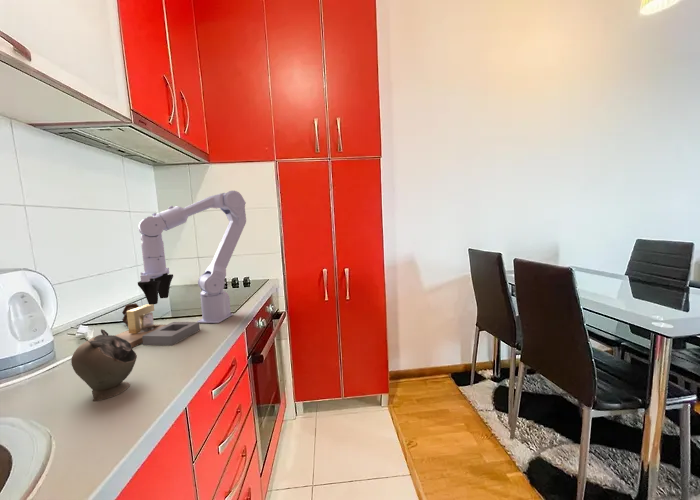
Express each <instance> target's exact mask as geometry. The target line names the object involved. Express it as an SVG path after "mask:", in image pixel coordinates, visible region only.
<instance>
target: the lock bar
mask: <svg viewBox="0 0 700 500" xmlns="http://www.w3.org/2000/svg"><path fill="white" fill-rule="evenodd" d="M154 311H155V304H151V305H149V303H147V304H144V305H141V306H139V307H137V308H134V309H132V310H129V311H126V312H127V320H128V327H127V328H128V330H129V333H134V334H136V333H139V332H140V323H139V316H141V315H144V314H147V313H149V312H152V313H153V312H154Z"/></svg>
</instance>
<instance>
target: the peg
mask: <svg viewBox="0 0 700 500" xmlns="http://www.w3.org/2000/svg"><path fill="white" fill-rule="evenodd" d="M139 323H140V332H148V331H150V330H153V329H154V325H155V323H154V316H153V311H152V312H149V313H147V314H144V315H141V316H139Z"/></svg>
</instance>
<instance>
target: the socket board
mask: <svg viewBox="0 0 700 500" xmlns="http://www.w3.org/2000/svg"><path fill="white" fill-rule="evenodd" d="M165 325H166V324H154V329H153V330H150V331H148V332H139V333H136V334H134V333H129V329H128V330H124V331H123V332H119V333H118V334H115V335H114V336H117V337H120V338H121V339H124V340H126V341H128V342H129V343H130V344H131V346H132V348H135V347H136V346H138V345H141V344H143V338H142V336H143V335H145V334H147V333H150V332H152V331H154V330H156V329H158V328H161V327H163V326H165Z"/></svg>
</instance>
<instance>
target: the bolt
mask: <svg viewBox="0 0 700 500" xmlns="http://www.w3.org/2000/svg"><path fill="white" fill-rule="evenodd" d="M137 307H140V306H139V305H138V303H134V302H133V303H130V304H129V303H128V304H126V305H125V306H124V308H123V310H122V315H123V317H122V319H121V320H122V321H123V322H124V324H125V325H126V326H128V320H127V312H126V311H129V310H132V309H134V308H137Z"/></svg>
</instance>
